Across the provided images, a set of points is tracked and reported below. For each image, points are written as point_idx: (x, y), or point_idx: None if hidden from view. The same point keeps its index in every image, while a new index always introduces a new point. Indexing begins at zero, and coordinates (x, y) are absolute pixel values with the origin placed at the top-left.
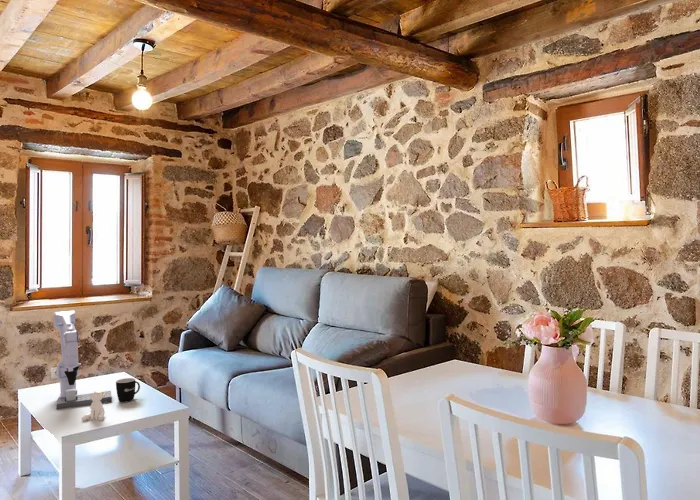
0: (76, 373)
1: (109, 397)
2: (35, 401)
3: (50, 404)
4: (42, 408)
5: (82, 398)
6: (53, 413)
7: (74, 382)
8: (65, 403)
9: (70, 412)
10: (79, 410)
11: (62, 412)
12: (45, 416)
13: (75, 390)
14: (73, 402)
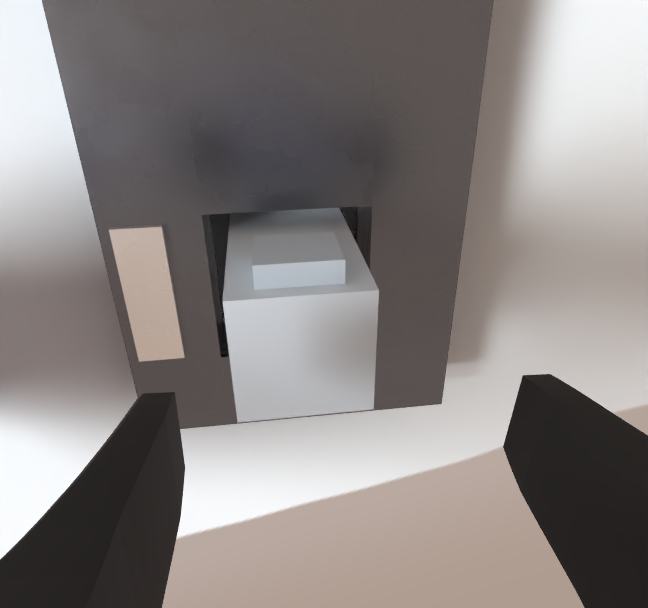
0: (110, 549)
1: None
2: None
3: (194, 444)
4: (310, 477)
5: (350, 135)
6: (546, 372)
7: (587, 398)
8: (447, 323)
9: (637, 230)
10: (636, 140)
11: (574, 304)
12: None
13: (304, 286)
14: (460, 240)
